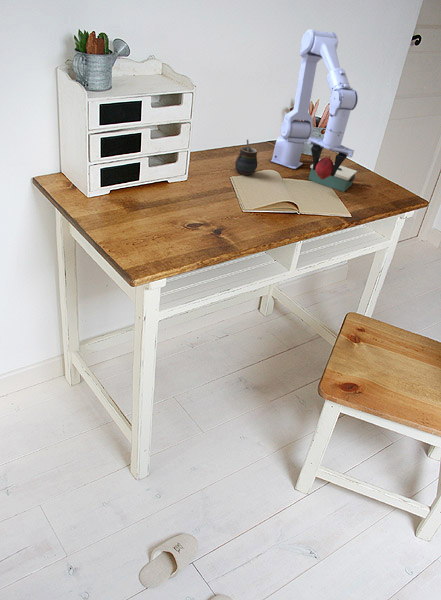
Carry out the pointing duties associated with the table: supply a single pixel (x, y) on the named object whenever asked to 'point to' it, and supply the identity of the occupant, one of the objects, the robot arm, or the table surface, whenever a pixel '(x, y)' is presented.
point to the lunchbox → (335, 178)
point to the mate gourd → (246, 160)
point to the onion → (324, 167)
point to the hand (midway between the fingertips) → (323, 172)
